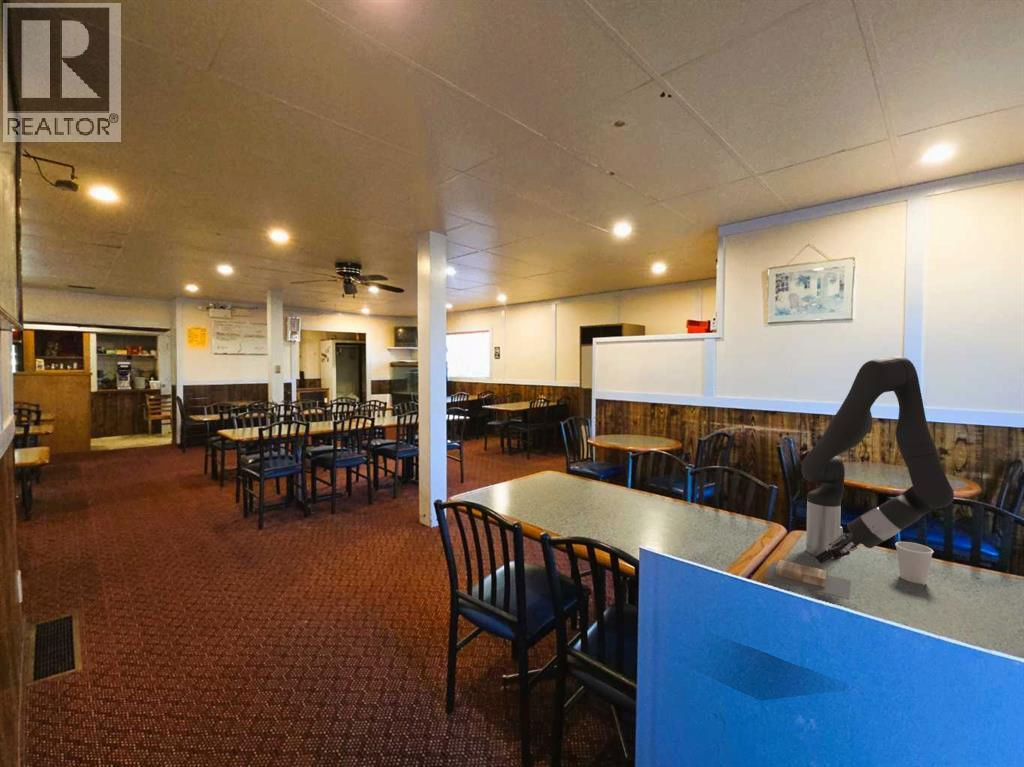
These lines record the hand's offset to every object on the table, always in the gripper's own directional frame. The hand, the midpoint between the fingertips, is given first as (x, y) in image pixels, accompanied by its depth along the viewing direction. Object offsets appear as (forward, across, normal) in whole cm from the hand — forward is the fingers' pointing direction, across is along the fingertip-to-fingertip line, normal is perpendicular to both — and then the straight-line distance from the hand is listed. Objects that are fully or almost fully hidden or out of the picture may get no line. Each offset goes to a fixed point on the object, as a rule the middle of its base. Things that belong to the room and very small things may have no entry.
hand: (817, 559), depth 128 cm
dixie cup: (-10, -20, +20) cm, 30 cm away
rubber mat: (+7, 0, +3) cm, 7 cm away
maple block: (+2, 0, +5) cm, 5 cm away
